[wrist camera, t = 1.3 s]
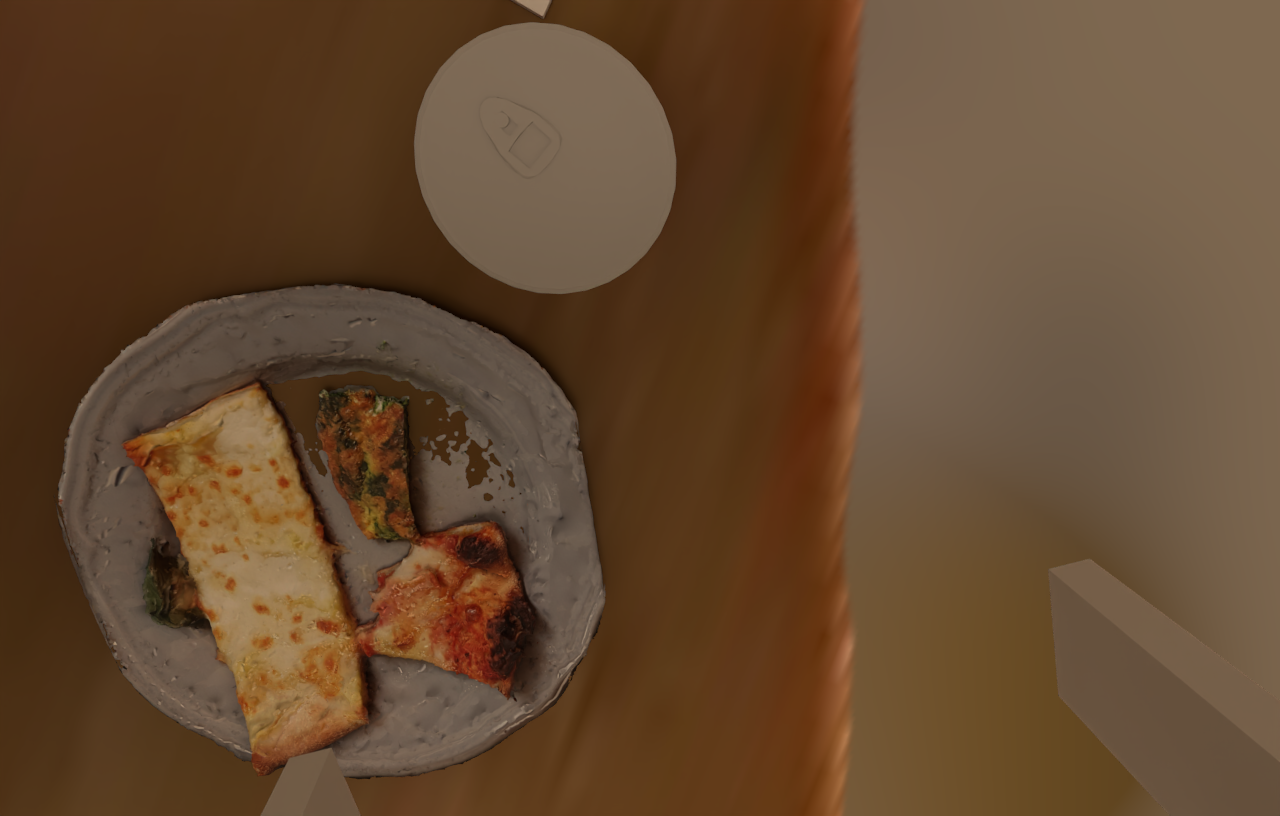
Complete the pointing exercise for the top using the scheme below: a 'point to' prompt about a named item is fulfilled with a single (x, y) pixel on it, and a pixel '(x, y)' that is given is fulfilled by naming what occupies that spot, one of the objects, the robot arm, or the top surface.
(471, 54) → the canned food
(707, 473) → the top surface
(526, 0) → the mat
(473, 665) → the food plate
